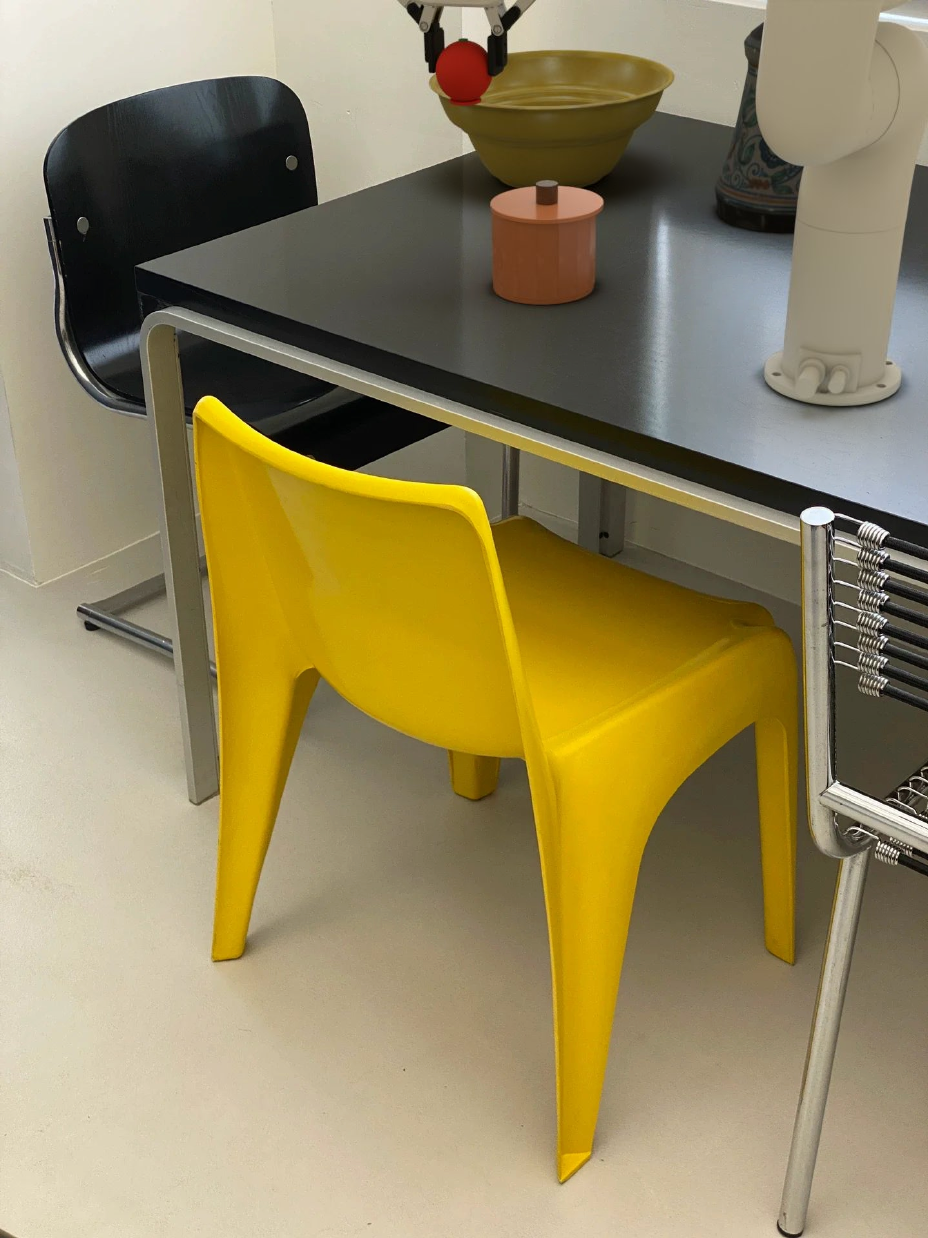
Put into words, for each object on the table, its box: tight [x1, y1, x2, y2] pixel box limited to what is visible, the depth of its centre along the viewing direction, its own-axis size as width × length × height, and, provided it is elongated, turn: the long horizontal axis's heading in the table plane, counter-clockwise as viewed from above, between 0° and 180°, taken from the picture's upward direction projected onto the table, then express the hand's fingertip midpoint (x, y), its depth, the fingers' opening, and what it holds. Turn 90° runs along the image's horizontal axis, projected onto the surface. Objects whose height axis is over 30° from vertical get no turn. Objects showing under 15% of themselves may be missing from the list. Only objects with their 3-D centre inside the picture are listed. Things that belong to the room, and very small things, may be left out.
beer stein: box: [714, 21, 804, 234], centre depth 170 cm, size 16×19×25 cm
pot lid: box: [490, 180, 605, 224], centre depth 153 cm, size 12×12×3 cm
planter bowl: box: [428, 49, 675, 189], centre depth 190 cm, size 32×32×13 cm
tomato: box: [436, 37, 492, 106], centre depth 148 cm, size 6×6×6 cm
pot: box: [490, 210, 597, 306], centre depth 156 cm, size 11×11×9 cm
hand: (466, 70), depth 149 cm, fingers closed on tomato, 5 cm apart
